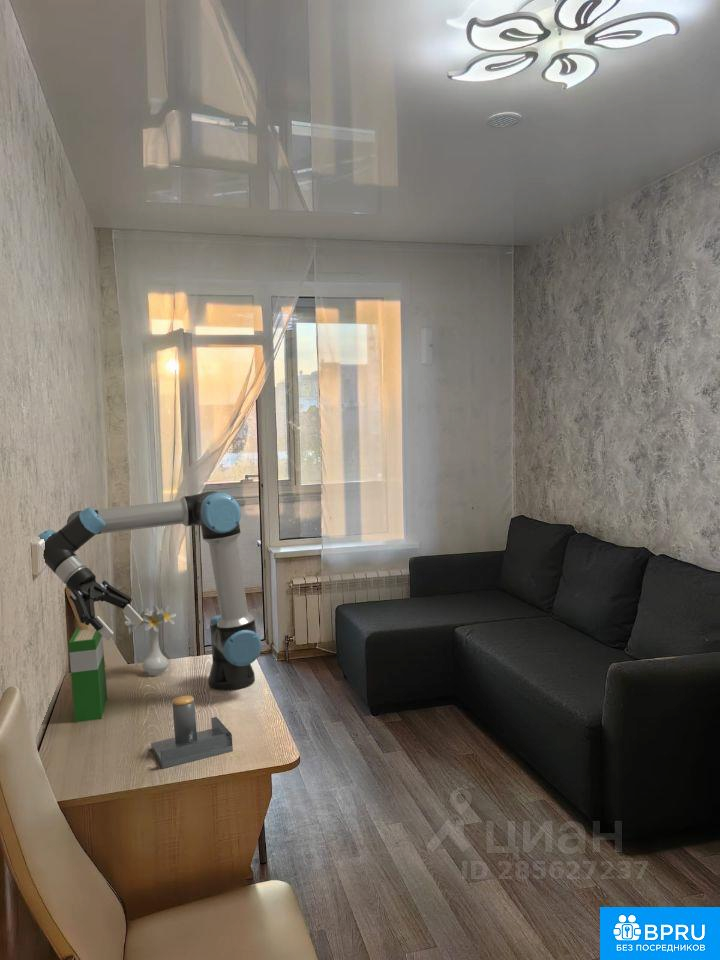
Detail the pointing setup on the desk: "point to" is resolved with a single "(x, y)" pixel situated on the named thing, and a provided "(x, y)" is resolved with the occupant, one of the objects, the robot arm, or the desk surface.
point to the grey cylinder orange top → (184, 719)
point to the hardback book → (87, 674)
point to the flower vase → (154, 638)
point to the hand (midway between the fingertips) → (125, 630)
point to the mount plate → (194, 746)
